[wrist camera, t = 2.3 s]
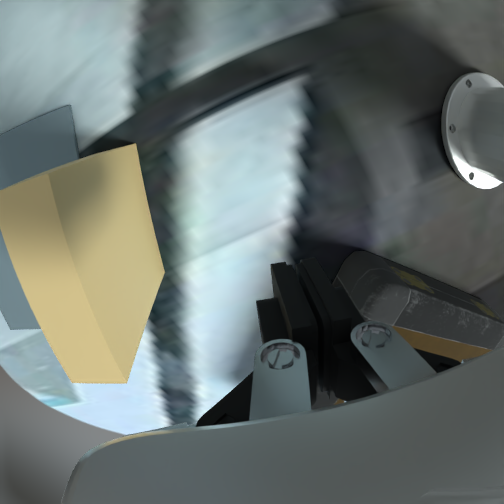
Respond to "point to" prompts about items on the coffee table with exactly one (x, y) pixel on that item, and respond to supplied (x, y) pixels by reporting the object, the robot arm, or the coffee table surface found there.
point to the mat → (23, 167)
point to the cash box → (417, 310)
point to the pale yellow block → (86, 260)
